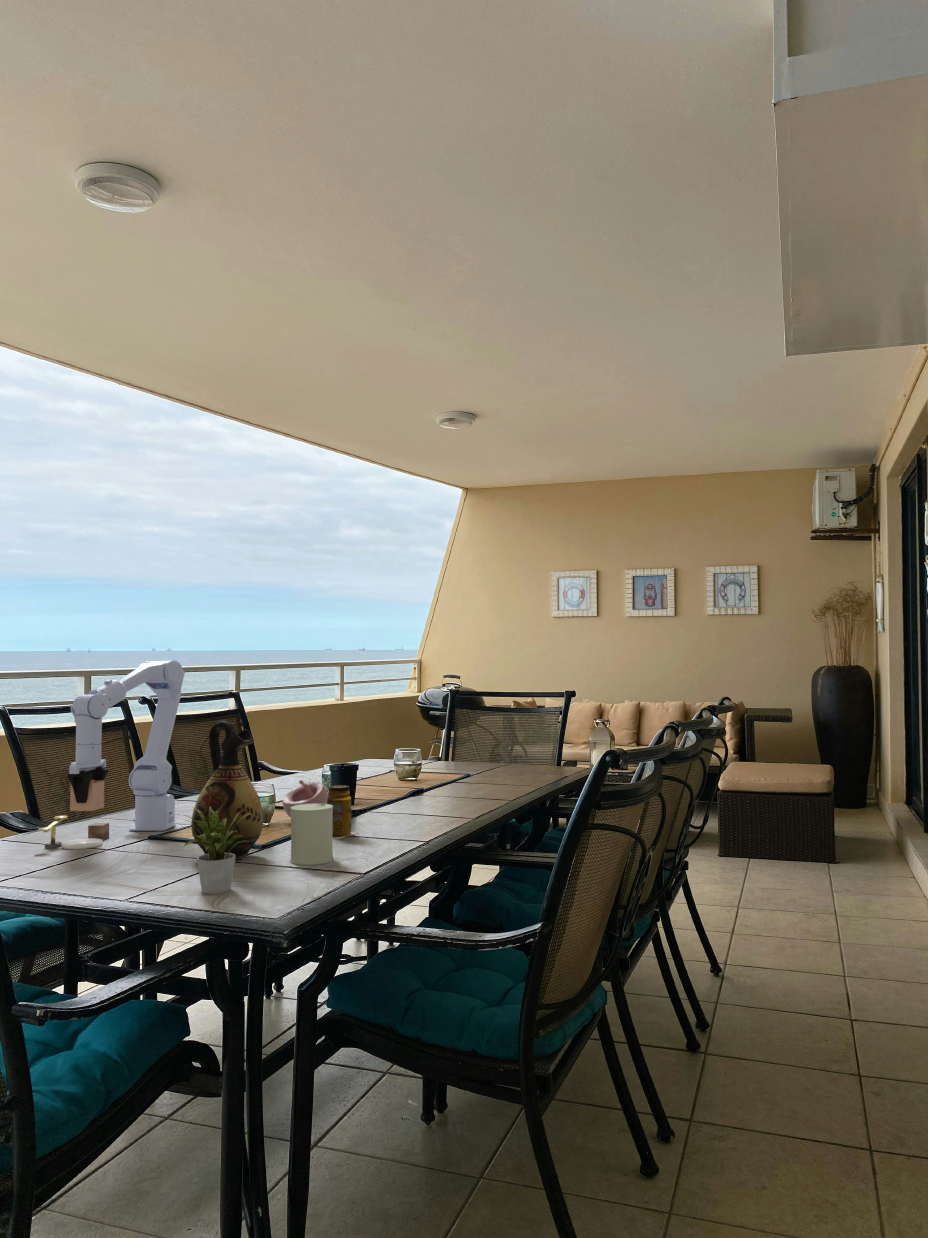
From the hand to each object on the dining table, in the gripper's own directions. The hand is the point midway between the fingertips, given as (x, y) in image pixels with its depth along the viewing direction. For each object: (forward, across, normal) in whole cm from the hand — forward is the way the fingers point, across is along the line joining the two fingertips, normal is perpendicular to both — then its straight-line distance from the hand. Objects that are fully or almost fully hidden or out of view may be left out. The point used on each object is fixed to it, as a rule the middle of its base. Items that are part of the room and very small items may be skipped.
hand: (87, 801), depth 211 cm
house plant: (+10, +43, +45) cm, 63 cm away
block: (+10, -6, 0) cm, 12 cm away
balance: (+10, +5, -6) cm, 13 cm away
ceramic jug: (+10, +15, +39) cm, 43 cm away
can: (+10, +18, +59) cm, 62 cm away
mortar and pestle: (+10, -28, +46) cm, 55 cm away
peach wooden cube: (+2, 0, 0) cm, 2 cm away
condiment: (+10, -10, +59) cm, 60 cm away
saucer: (+10, +3, 0) cm, 10 cm away
